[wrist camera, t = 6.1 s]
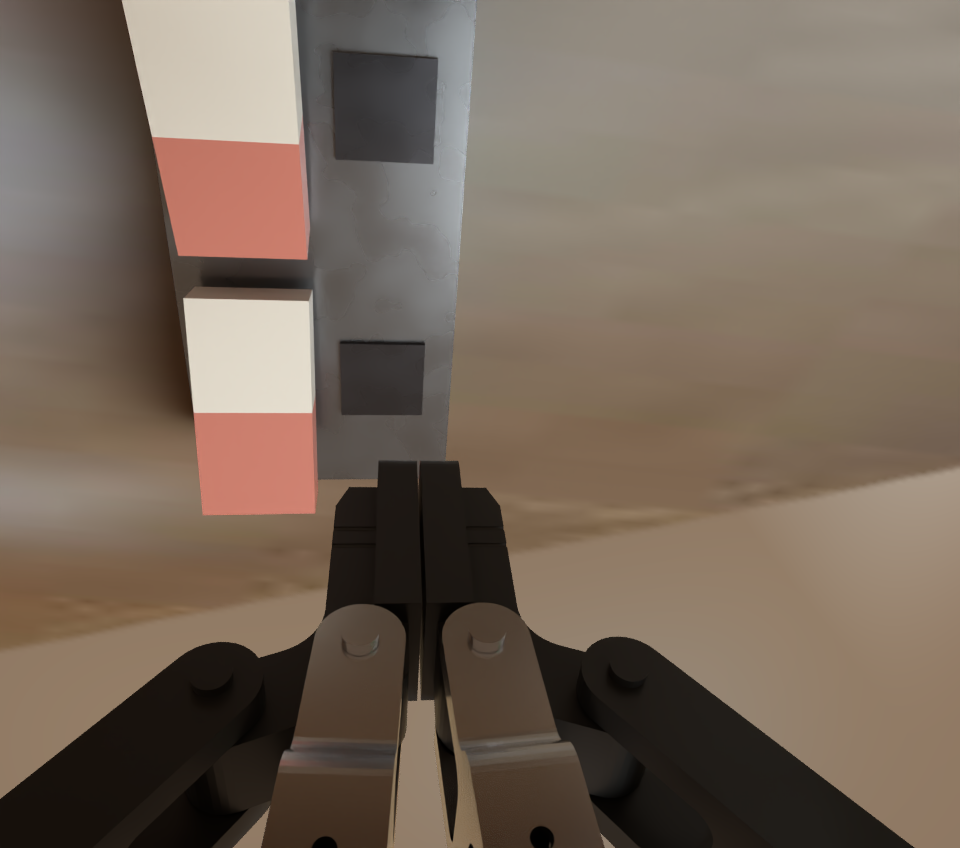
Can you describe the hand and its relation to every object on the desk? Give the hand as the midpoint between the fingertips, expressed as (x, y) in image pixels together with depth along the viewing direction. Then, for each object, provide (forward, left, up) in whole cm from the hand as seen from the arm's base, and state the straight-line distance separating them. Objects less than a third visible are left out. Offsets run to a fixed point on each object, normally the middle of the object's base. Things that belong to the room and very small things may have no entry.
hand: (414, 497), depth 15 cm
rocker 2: (+5, +6, -14) cm, 16 cm away
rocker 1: (+5, -4, -14) cm, 15 cm away
